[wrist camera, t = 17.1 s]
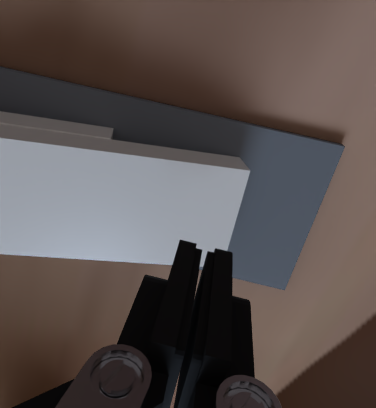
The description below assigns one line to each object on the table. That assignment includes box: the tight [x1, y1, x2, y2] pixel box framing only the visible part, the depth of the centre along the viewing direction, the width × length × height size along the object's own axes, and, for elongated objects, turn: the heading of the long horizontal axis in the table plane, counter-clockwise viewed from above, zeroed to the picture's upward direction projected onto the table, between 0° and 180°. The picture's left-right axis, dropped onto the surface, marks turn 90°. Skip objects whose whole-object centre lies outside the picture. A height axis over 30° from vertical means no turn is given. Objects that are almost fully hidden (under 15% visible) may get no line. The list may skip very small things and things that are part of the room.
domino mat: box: [0, 66, 345, 290], centre depth 17 cm, size 30×8×1 cm, turn 79°
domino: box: [0, 124, 250, 267], centre depth 14 cm, size 2×5×10 cm
